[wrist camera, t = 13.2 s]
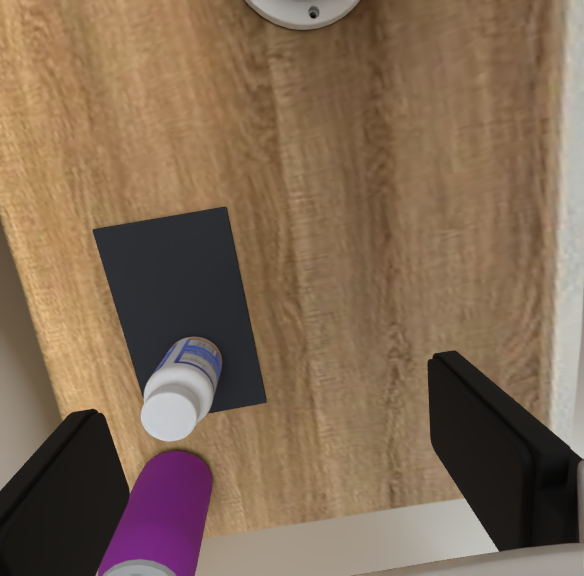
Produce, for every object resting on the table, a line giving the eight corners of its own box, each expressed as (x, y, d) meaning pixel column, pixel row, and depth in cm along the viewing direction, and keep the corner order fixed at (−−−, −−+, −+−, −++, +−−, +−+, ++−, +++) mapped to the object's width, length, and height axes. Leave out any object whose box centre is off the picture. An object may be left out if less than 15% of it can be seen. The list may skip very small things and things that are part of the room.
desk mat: (94, 229, 31) (91, 229, 31) (226, 206, 32) (225, 206, 31) (152, 422, 36) (151, 424, 36) (266, 400, 36) (266, 402, 36)
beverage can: (222, 496, 39) (202, 622, 27) (154, 512, 38) (104, 645, 27) (203, 438, 37) (173, 546, 25) (132, 454, 37) (68, 570, 25)
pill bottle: (181, 392, 35) (149, 462, 26) (158, 346, 34) (115, 401, 24) (231, 374, 35) (218, 436, 25) (210, 326, 34) (187, 373, 24)
